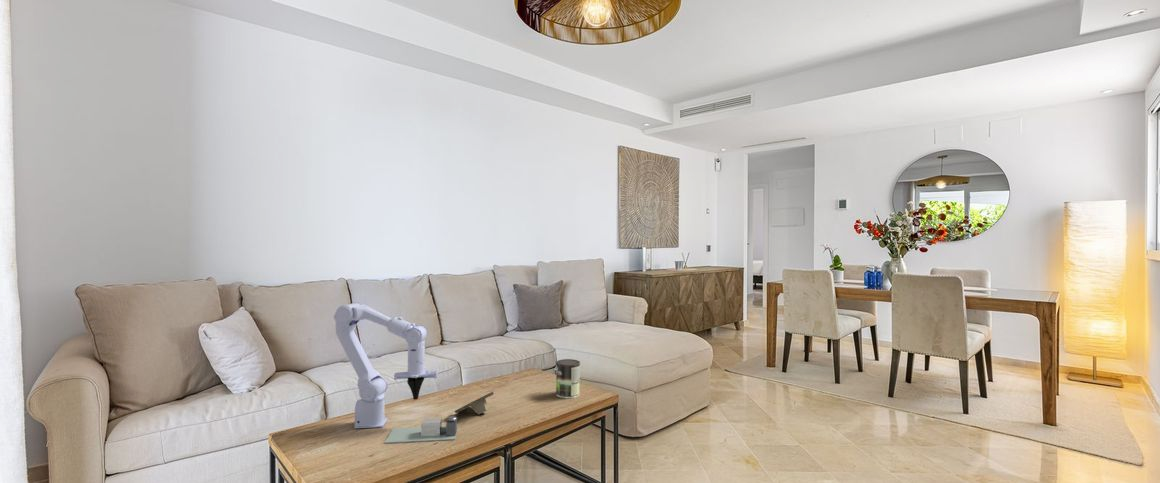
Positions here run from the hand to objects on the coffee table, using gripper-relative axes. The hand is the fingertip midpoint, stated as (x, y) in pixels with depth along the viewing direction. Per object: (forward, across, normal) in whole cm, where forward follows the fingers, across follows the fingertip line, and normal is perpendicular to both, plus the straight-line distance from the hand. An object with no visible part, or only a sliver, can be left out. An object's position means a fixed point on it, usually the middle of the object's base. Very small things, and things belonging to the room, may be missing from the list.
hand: (415, 398), depth 171 cm
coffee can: (+10, +58, +27) cm, 65 cm away
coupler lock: (+9, +7, -10) cm, 15 cm away
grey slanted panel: (+10, +19, +9) cm, 23 cm away
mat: (+9, +4, -9) cm, 14 cm away
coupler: (+9, +10, -10) cm, 17 cm away
